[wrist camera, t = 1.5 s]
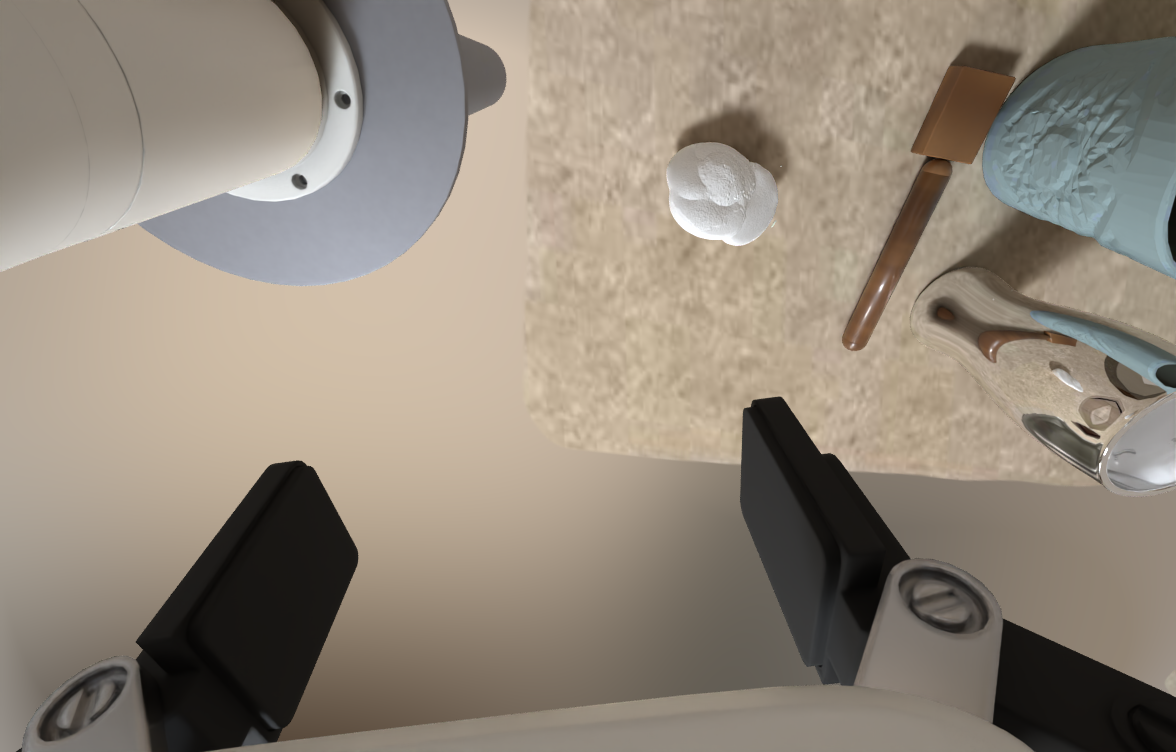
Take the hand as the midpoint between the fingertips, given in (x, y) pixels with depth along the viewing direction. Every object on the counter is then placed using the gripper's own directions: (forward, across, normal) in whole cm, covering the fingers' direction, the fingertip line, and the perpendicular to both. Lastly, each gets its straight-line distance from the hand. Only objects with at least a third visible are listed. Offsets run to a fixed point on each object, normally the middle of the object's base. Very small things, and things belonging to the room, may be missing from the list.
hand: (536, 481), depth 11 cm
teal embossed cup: (+23, -30, -1) cm, 38 cm away
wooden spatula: (+23, -22, +3) cm, 32 cm away
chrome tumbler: (+23, -26, +10) cm, 37 cm away
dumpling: (+23, -10, -1) cm, 25 cm away
